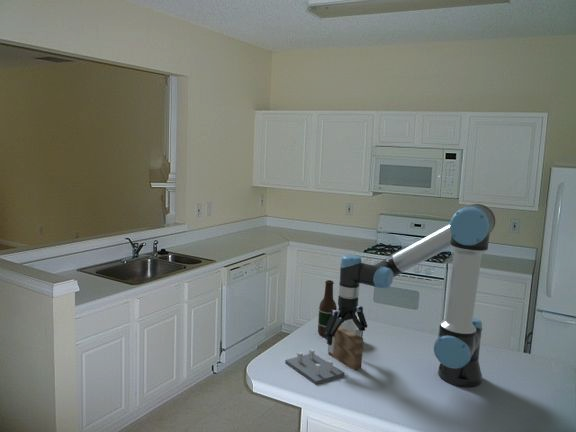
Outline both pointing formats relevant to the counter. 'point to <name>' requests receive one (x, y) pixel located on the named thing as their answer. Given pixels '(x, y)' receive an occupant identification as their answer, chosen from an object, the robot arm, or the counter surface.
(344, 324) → the white cup
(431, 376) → the counter surface
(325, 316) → the beer bottle
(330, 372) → the board
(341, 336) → the brown wooden board
